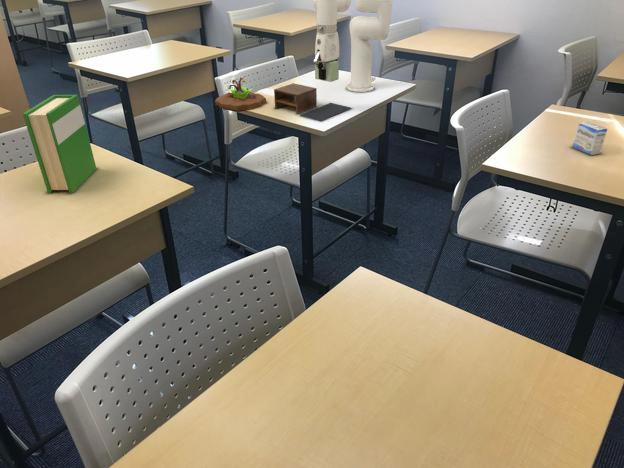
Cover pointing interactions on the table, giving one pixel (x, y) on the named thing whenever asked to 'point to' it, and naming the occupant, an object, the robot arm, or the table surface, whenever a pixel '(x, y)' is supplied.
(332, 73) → the green square container
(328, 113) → the desk pad
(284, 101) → the shelf
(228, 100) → the plant
